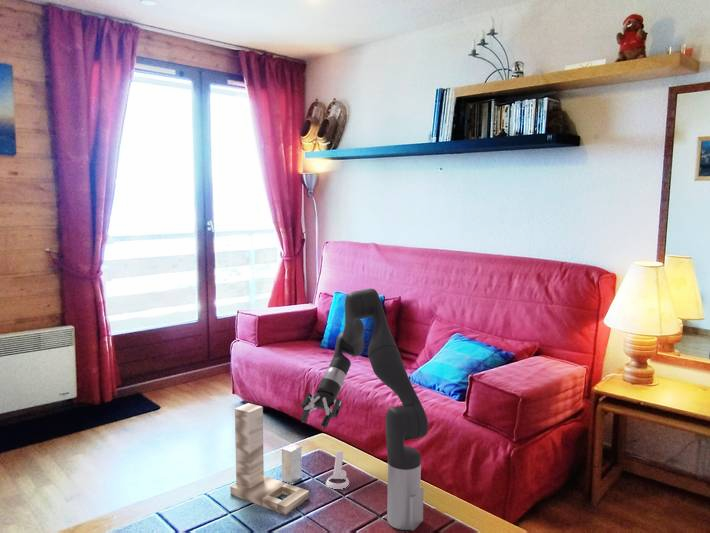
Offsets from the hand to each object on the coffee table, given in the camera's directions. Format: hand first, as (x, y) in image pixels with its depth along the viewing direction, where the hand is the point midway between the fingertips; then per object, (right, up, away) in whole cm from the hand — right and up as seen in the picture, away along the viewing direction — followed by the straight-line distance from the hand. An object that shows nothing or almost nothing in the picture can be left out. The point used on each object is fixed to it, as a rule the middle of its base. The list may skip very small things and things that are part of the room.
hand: (312, 424), depth 188 cm
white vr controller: (+9, -16, -11) cm, 21 cm away
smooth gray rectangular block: (-6, -16, -8) cm, 19 cm away
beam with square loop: (-12, -17, -19) cm, 28 cm away
